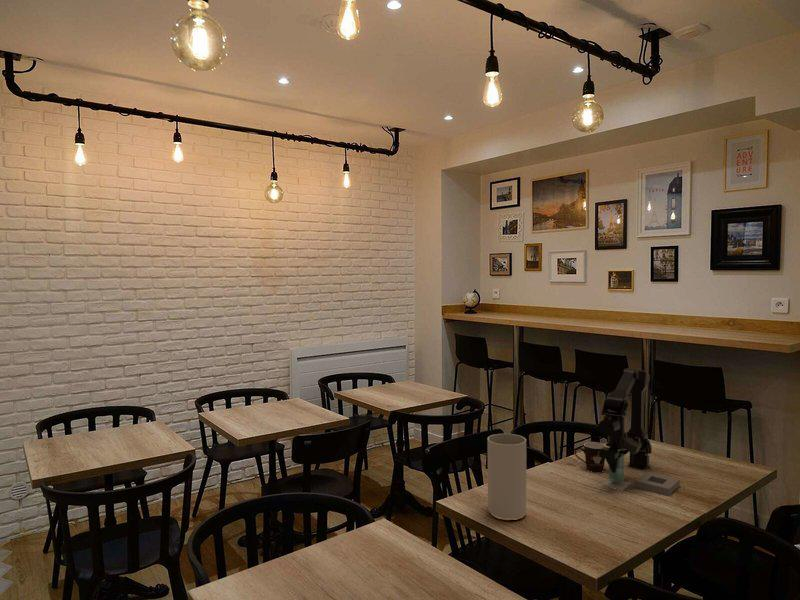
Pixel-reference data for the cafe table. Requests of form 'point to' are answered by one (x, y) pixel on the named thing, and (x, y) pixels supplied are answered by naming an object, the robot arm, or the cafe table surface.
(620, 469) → the peg
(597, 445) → the coffee mug
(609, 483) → the mat
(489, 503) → the cylinder vase
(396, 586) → the cafe table surface
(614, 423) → the robot arm
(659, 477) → the pocket plate
